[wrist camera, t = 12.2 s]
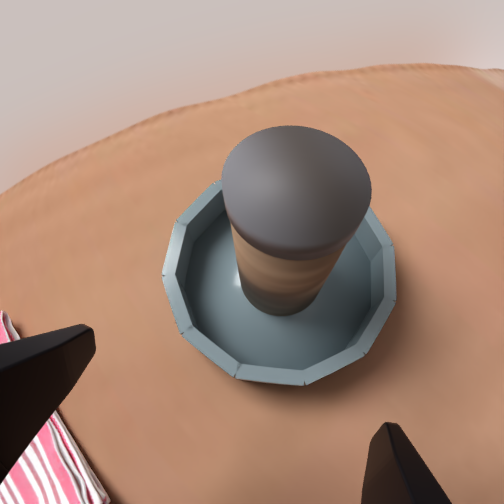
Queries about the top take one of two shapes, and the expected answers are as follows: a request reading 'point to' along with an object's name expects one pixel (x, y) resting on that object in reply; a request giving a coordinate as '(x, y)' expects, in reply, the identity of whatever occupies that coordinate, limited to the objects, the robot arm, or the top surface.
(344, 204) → the walnut jar
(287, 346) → the bowl
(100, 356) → the top surface
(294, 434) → the top surface
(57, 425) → the dish towel
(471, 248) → the top surface
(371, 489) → the robot arm
